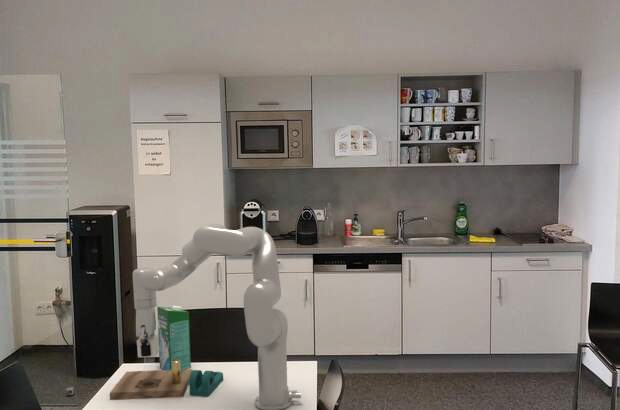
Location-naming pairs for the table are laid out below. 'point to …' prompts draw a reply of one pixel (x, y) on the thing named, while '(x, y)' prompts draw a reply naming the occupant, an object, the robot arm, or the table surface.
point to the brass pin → (176, 371)
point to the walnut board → (150, 385)
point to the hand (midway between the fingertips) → (148, 352)
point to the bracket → (204, 382)
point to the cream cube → (153, 344)
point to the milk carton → (173, 337)
